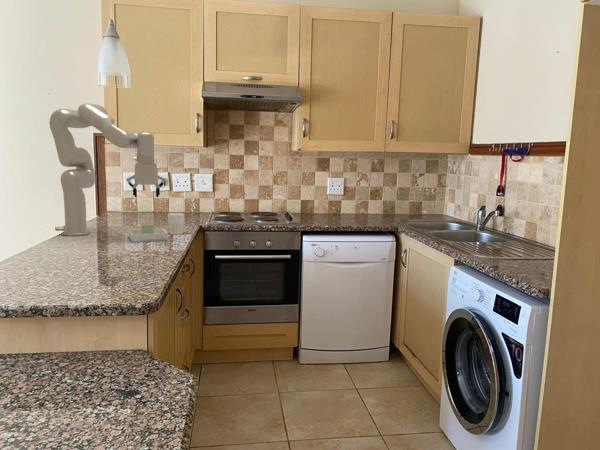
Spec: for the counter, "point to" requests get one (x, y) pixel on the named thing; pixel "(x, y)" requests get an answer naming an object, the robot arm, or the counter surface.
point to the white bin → (148, 235)
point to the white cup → (176, 223)
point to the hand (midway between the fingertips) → (146, 196)
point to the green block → (147, 228)
